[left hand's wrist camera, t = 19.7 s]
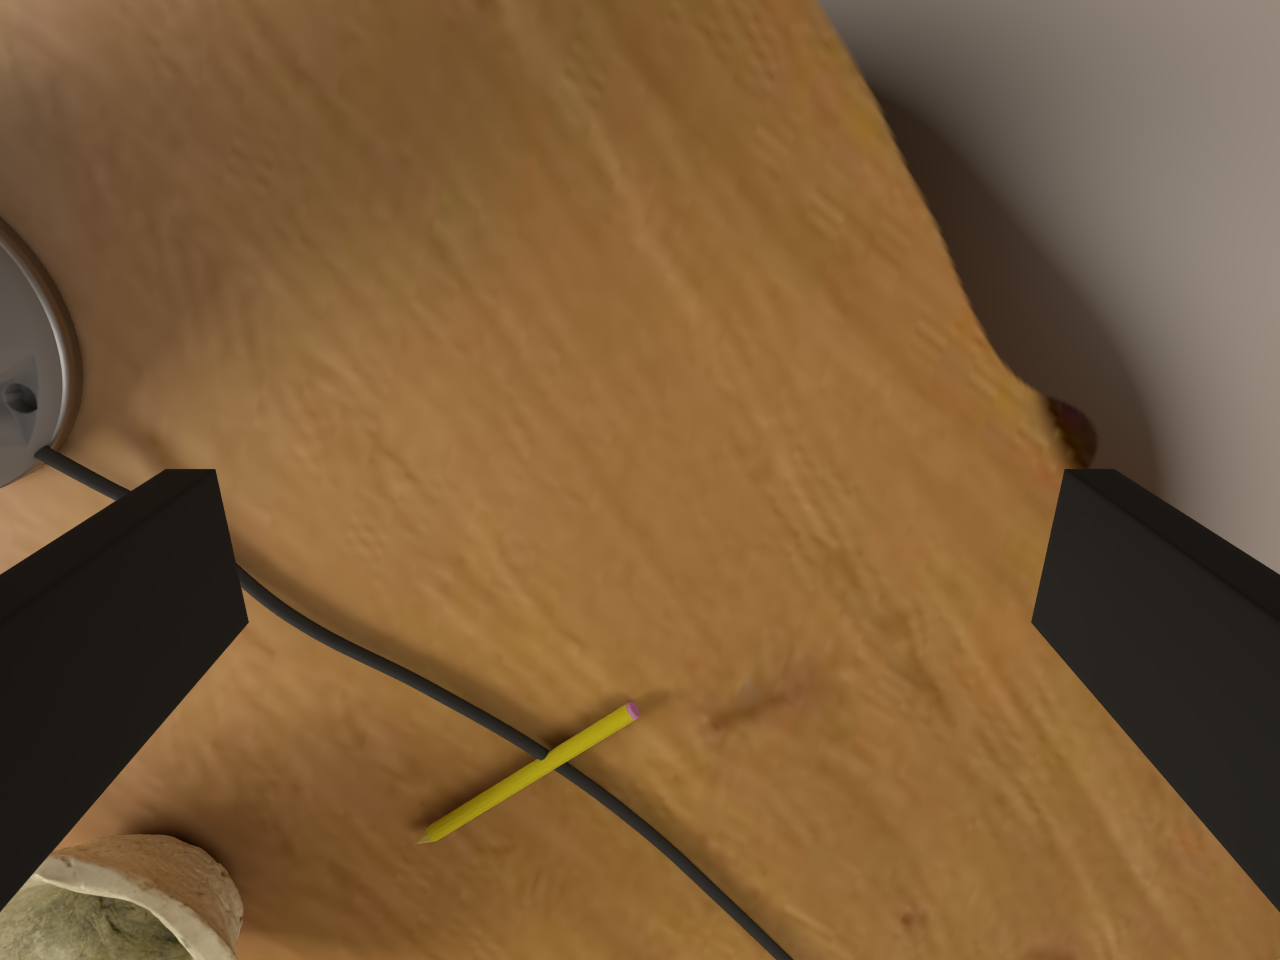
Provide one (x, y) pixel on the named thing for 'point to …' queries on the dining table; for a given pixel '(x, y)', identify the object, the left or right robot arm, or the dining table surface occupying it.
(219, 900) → the bowl
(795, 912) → the dining table surface
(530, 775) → the pencil
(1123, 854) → the dining table surface
